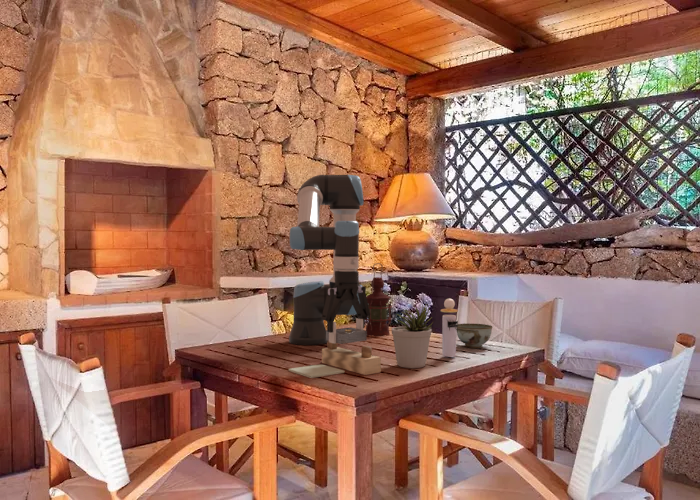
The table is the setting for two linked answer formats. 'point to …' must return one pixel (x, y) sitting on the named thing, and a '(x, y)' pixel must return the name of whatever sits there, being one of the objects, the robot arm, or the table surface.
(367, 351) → the body
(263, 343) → the table surface
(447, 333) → the perfume bottle
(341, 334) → the grey block with knob
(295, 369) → the felt pad
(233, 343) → the table surface
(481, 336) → the bowl
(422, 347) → the potted plant
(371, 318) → the lantern
